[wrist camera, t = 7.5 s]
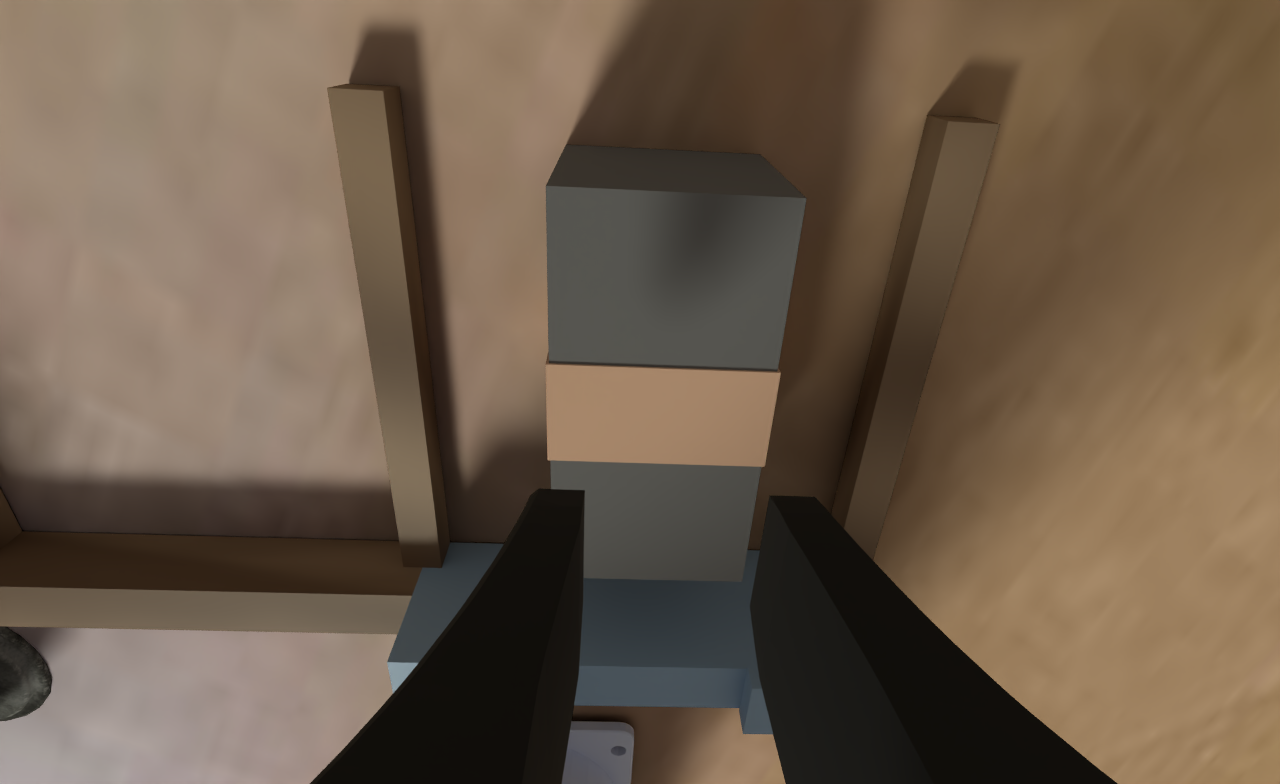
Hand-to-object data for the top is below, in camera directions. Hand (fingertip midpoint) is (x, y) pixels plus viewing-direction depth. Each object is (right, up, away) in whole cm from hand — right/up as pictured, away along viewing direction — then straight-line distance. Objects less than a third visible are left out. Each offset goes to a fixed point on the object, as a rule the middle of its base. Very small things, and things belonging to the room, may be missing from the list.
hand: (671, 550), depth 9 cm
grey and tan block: (0, +4, +6) cm, 7 cm away
